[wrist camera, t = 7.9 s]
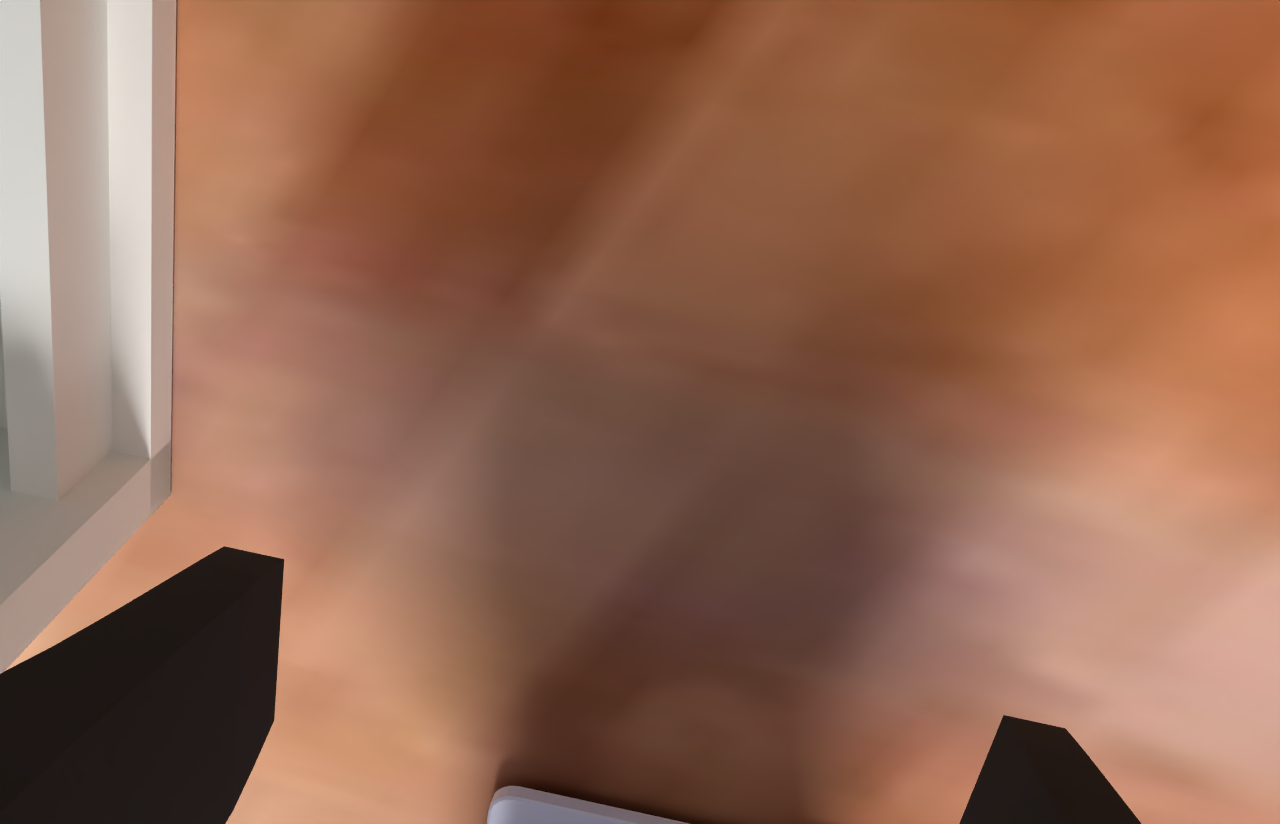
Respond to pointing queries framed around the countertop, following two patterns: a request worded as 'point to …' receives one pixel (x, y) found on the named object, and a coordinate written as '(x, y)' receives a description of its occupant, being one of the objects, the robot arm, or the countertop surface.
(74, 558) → the track
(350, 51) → the countertop surface
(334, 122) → the countertop surface
